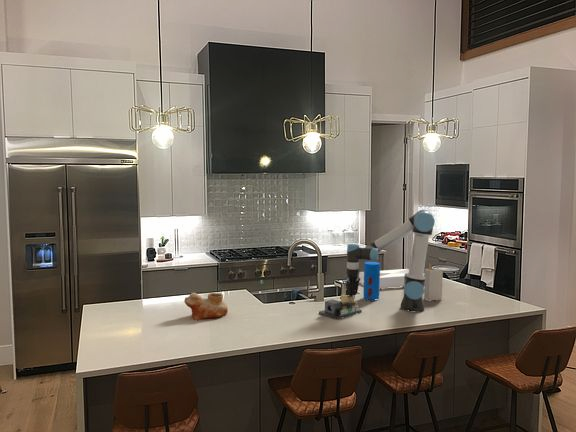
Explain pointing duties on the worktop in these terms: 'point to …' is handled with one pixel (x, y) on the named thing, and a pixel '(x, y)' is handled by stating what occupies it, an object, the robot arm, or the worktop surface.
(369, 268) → the thermos
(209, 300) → the ceramic vessel
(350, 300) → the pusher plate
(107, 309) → the worktop surface
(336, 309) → the circuit board
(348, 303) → the pointer
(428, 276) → the beige tall box
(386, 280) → the bread box
